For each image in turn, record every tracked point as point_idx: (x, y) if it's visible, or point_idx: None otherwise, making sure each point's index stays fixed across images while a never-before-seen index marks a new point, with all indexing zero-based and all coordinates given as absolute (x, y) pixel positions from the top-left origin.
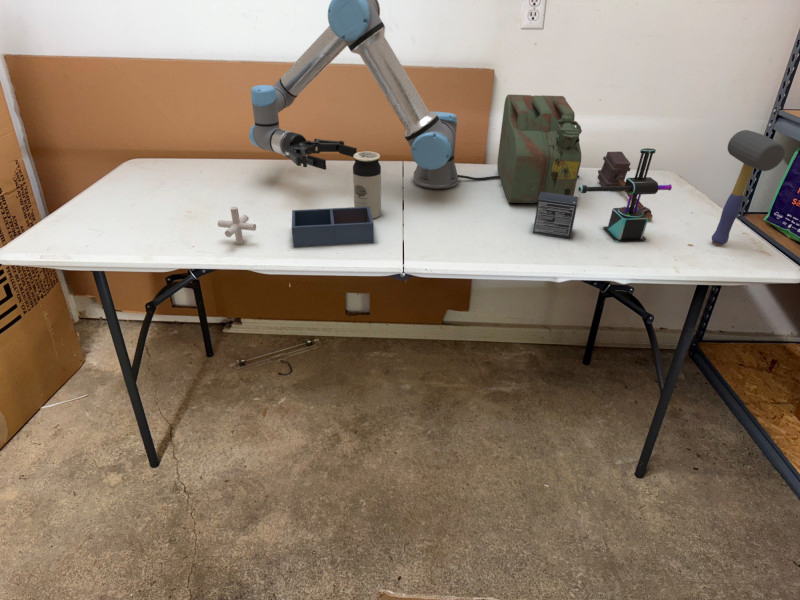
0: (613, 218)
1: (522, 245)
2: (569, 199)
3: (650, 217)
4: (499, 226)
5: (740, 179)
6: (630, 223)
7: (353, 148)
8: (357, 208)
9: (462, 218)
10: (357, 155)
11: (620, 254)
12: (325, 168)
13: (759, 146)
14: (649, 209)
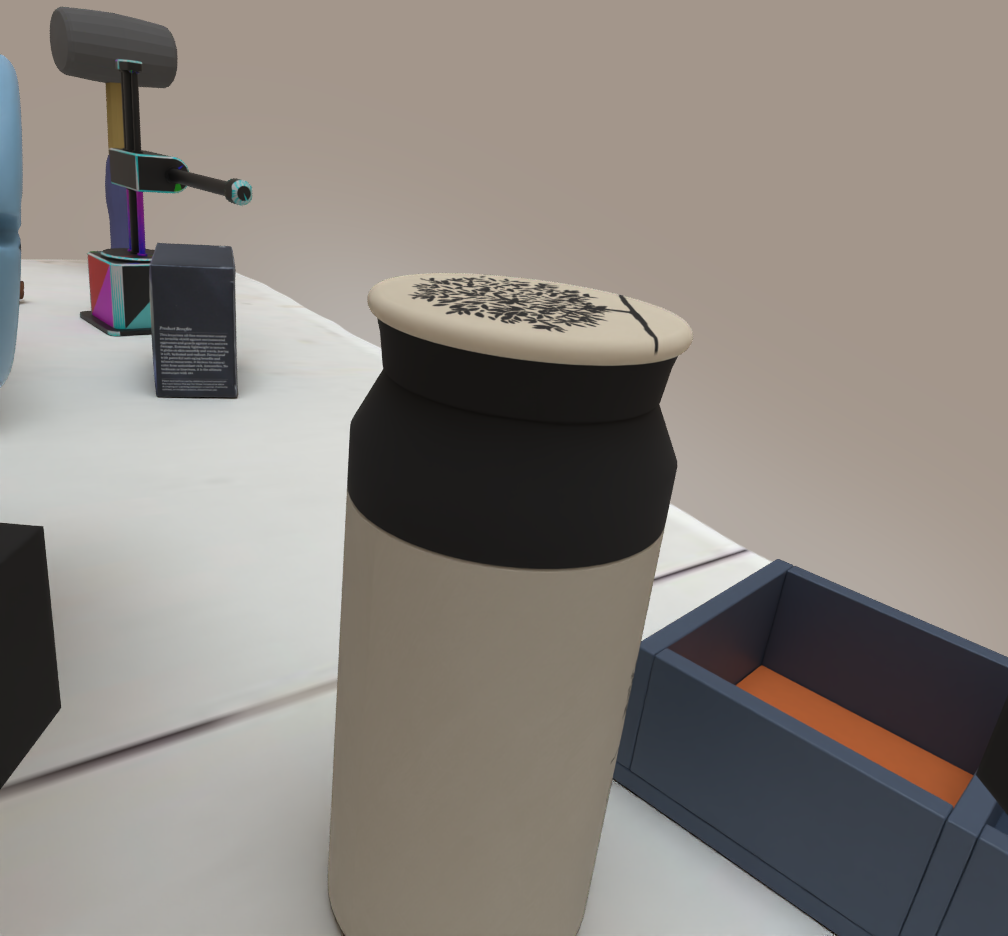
0: (140, 286)
1: (345, 406)
2: (202, 247)
3: (23, 288)
4: (224, 441)
5: None
6: None
7: (14, 550)
8: (732, 684)
9: (201, 511)
10: (619, 327)
11: (271, 331)
12: (999, 762)
13: (159, 34)
14: None
